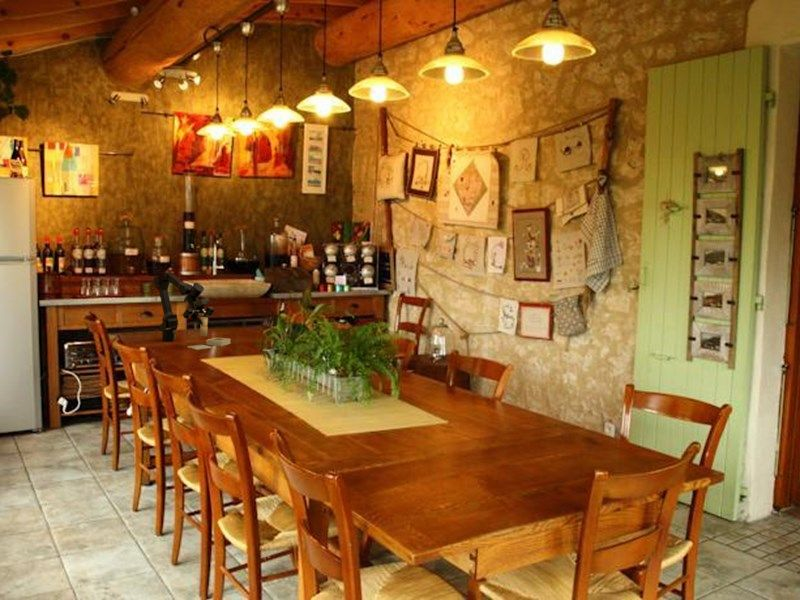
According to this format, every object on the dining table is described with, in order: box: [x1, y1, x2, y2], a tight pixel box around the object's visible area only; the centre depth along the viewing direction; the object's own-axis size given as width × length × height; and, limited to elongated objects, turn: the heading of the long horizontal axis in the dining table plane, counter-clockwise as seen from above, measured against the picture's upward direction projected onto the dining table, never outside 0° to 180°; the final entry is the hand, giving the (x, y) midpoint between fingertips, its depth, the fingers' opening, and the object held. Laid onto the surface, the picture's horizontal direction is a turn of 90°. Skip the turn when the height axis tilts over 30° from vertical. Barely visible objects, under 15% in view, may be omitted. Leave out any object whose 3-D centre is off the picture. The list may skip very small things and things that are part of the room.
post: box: [199, 316, 209, 337], centre depth 444 cm, size 4×4×10 cm
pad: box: [186, 344, 213, 351], centre depth 443 cm, size 10×10×1 cm
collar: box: [205, 337, 231, 347], centre depth 457 cm, size 10×10×3 cm
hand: (205, 323), depth 443 cm, fingers closed on post, 4 cm apart
